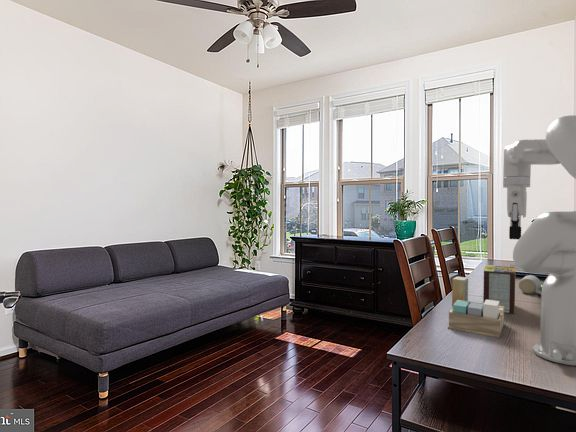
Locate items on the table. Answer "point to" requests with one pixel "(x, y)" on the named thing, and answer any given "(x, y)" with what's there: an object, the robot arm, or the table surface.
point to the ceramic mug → (530, 285)
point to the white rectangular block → (491, 309)
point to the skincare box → (459, 289)
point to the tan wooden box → (477, 323)
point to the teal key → (461, 307)
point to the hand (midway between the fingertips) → (515, 238)
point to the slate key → (475, 309)
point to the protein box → (500, 286)
